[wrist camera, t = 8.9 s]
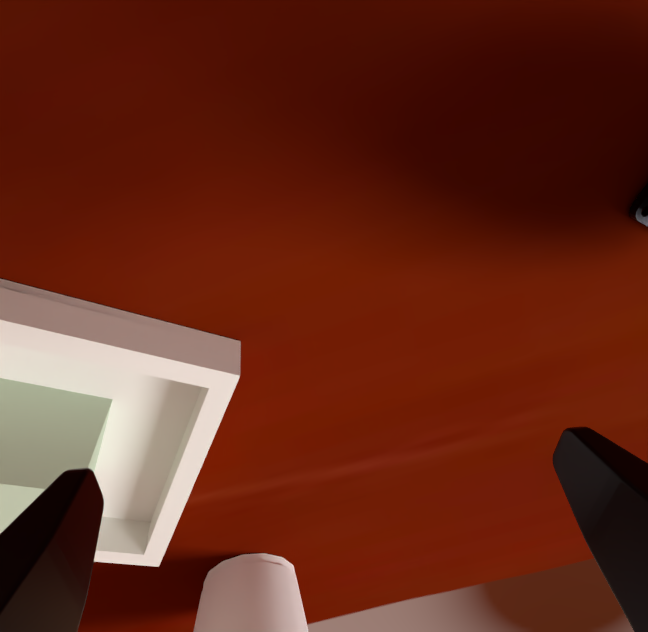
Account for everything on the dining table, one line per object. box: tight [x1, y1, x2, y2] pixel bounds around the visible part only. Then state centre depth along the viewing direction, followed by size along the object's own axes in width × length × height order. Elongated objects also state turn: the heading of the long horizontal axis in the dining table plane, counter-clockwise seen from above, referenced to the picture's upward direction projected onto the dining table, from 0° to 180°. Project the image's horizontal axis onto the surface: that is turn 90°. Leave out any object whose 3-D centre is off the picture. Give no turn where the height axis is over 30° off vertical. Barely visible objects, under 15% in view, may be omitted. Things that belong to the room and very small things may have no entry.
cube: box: [0, 378, 113, 533], centre depth 18 cm, size 5×5×5 cm
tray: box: [0, 279, 241, 567], centre depth 20 cm, size 14×14×2 cm
